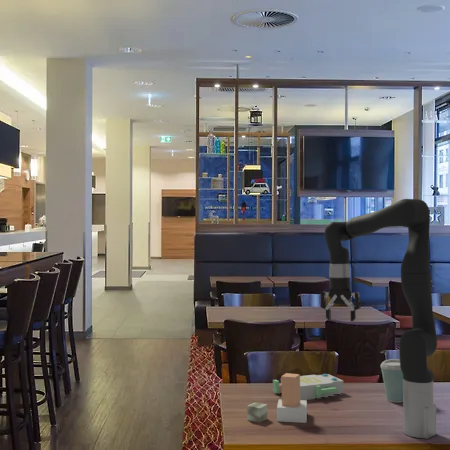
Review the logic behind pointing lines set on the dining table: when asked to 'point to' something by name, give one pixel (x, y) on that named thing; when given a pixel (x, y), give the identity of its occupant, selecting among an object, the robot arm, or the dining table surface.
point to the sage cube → (257, 412)
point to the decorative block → (315, 386)
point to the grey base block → (292, 412)
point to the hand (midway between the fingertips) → (340, 320)
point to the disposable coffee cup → (393, 380)
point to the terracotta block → (290, 389)
